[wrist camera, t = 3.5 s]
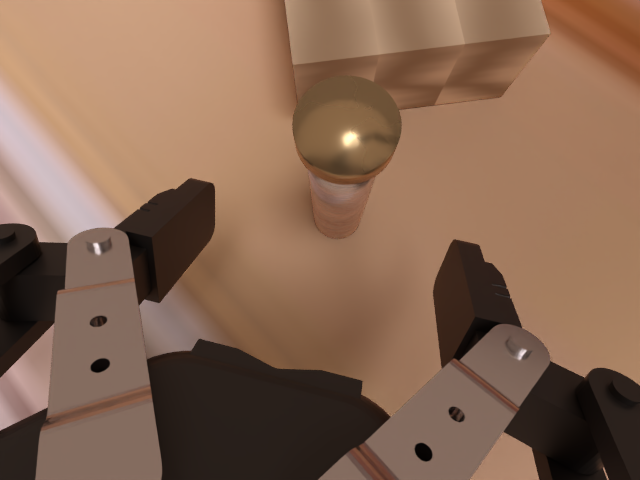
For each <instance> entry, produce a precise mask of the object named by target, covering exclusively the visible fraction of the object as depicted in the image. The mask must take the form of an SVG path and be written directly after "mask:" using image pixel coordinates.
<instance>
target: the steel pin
mask: <svg viewBox="0 0 640 480" xmlns="http://www.w3.org/2000/svg"><path fill="white" fill-rule="evenodd" d="M292 125H293V135H294V140H295V146H296V150H297V153H298V155H299V157H300V159H301V161H302V163H303V164H304V165H305V167H306V168H307V169H308V174H309V182H310V190H311V198H312V206H313V214H314V221H315V224H316V226H317V228H318V230H319V231H320V232H321V233H322V234H324V235H325V236H327V237H330V238H334V239H341V238H345V237H348V236H350V235H351V234H352V233H354V232H355V230H356V229H357V228H358V226H359V223H360V220H361V217H362V214H363V212H364V209H365V206H366V203H367V200H368V197H369V194H370V191H371V188H372V185H373V182H374V180H375V177H376V175H378V174H379V173H380V172H381V171H382V170H383V169H384V168H385V167H386V166H387V165H388V163H389V162H390V160H391V158H392V156H393V154H394V152H395V149H396V147H397V144H398V141H399V138H400V134H401V116H400V112H399V109H398V107H397V105H396V103H395V101H394V100H393V98H392V97H391V96H390V94H389V93H388V92H387V91H386V90H385V89H384V88H382V87H381V86H380V85H378V84H376V83H375V82H373V81H370V80H368V79H365V78H362V77H357V76H348V75H345V76H336V77H331V78H328V79H325V80H323V81H321V82H319V83H317V84H315V85H314V86H313V87H311V88H310V89H309V90H308V91H307V92H306V93H305V94H304V95H303V96H302V98H301V99H300V101H299V102H298V104H297V106H296V109H295V111H294V116H293V123H292Z"/></svg>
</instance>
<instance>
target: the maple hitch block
mask: <svg viewBox="0 0 640 480" xmlns="http://www.w3.org/2000/svg"><path fill="white" fill-rule="evenodd" d="M285 8H286V16H287V24H288V32H289V40H290V48H291V56H292V64H293V71H294V79H295V87H296V94H297V102H299V101H300V99H301V98H302V96H303V95H304V94H305V93H306V92H307V91H308V90H309V89H310V88H311V87H313V86H314V85H315V84H317V83H319V82H321V81H323V80H325V79H328V78H331V77H336V76H345V75H348V76H357V77H362V78H365V79H368V80H370V81H373V82H375V83H376V84H378V85H380V86H381V87H382V88H384V89H385V90H386V91H387V92H388V93H389V94H390V96H391V97H392V98H393V100H394V101H395V103H396V105H397V107H398V109H407V108H415V107H423V106H431V105H439V104H447V103H456V102H464V101H472V100H480V99H488V98H496V97H501V96H502V95H503V94H504V92H505V91H506V90H507V89H508V87H509V86H510V85H511V84H512V82H513V81H514V80H515V78H516V77H517V76H518V75H519V73H520V72H521V71H522V70H523V68H524V67H525V66H526V65H527V63H528V62H529V61H530V59H531V58H532V57H533V56H534V54H535V53H536V52H537V51H538V49H539V48H540V47H541V46H542V44H543V43H544V42H545V40H546V39H547V38H548V37H549V35H550V34H551V32H550V29H549V26H548V22H547V19H546V16H545V12H544V9H543V5H542V2H541V0H285Z"/></svg>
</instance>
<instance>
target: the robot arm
mask: <svg viewBox="0 0 640 480" xmlns="http://www.w3.org/2000/svg"><path fill="white" fill-rule="evenodd" d="M214 228H215V187H214V184H213V183H210V182H205V181H201V180H197V179H192V178H190V179H188V180H187V181H185V182H184V183H183V184H182V185H181V186H179V187H178V188H177V189H176V190H175V189H170V190H167V191H164V192H162V193H159V194H157V195H156V196H154V197H153V198H152V199H151V200H149V201H148V203H146V204H144V205H143V206H142V207H140V210H139V209H138V210H137V211H135V212H134V213H133V214H131V215H130V216H129V217H128V218H126V219H125V220H124V221H122V222H121V223H120V224H119V225H117V226H116V227H115V228H114V229H113V228H95V229H90V230H86V231H83V232H81V233H79V234H77V235H75V236H74V237H73V238H71V240H70V241H69V242H68V243H46V242H39V241H38V238H37V234H36V231H35V230H34V229H33V228H32V227H30V226H28V225H24V224H1V225H0V377H1V376H2V375H3V374H4V373H5V372H6V371H7V370H8V369H9V368H10V367H11V366H12V365H13V364H14V363H15V362H16V361H17V360H18V359H19V358H20V357H21V356H22V355H23V354H24V353H25V352H26V351H27V350H28V349H29V348H30V347H31V346H32V345H33V344H34V343H35V342H36V341H37V340H38V339H39V338H40V337H41V336H42V335H43V334H44V333H45V332H46V331H47V330H48V329H49V328H50V327H51V326H52V325H53V324H54V336H53V349H52V362H51V375H50V388H49V400H48V408H46V409H44V410H42V411H40V412H38V413H36V414H34V415H31V416H29V417H27V418H25V419H23V420H21V421H19V422H17V423H15V424H13V425H11V426H9V427H7V428H5V429H3V430H1V431H0V480H470V478H471V477H472V475H473V474H474V473H475V471H476V470H477V468H478V467H479V465H480V464H481V463H482V461H483V460H484V458H485V457H486V455H487V454H488V453H489V451H490V450H491V448H492V447H493V446H494V444H495V443H496V441H497V440H498V438H499V437H500V436H501V434H502V433H503V432H505V433H507V434H509V435H510V436H512V437H514V438H516V439H517V440H519V441H521V442H523V443H525V444H526V445H528V446H530V447H532V451H533V455H534V459H535V463H536V467H537V472H538V476H539V480H607V478H606V476H605V473H604V471H603V467H604V468H605V470H606V473H607V475H608V478H609V480H640V386H639V385H638V384H637V383H635V382H634V381H633V380H631V379H630V378H628V377H626V376H624V375H623V374H621V373H618V372H616V371H613V370H610V369H606V368H595V369H593V370H591V371H590V372H589V373H588V374H587V376H586V377H585V378H584V377H582V376H580V375H578V374H576V373H573V372H571V371H569V370H567V369H565V368H563V367H561V366H559V365H557V364H555V363H553V362H551V361H550V355H549V352H548V350H547V348H546V347H545V346H544V344H543V343H542V342H541V341H540V340H539V339H538V338H537V337H535V336H534V335H533V334H531V333H530V332H528V331H526V330H524V329H522V326H521V323H520V321H519V318H518V315H517V313H516V310H515V307H514V305H513V302H512V299H510V294H509V291H508V289H506V287H507V286H506V284H505V281H504V278H503V276H502V274H501V273H500V272H499V271H498V270H497V269H496V268H495V266H494V265H493V264H492V263H487V262H485V261H484V258H483V255H482V252H481V249H480V246H479V245H477V244H473V243H469V242H464V241H460V240H456V239H455V240H453V241H452V243H451V245H450V247H449V249H448V251H447V254H446V256H445V258H444V261H443V263H442V265H441V268H440V270H439V272H438V275H437V277H436V280H435V284H434V290H433V297H434V305H435V314H436V323H437V332H438V340H439V349H440V358H441V366H442V369H441V370H440V371H439V372H438V373H437V374H436V375H435V376H434V377H433V378H432V379H431V380H430V381H429V382H428V383H427V384H426V385H425V386H423V387H422V388H421V389H420V390H419V391H418V392H417V393H416V394H415V395H414V396H413V397H412V398H411V399H410V400H409V401H408V402H407V403H405V404H404V405H403V406H402V407H401V408H400V409H399V410H398V411H397V412H396V413H395V414H394V415H393V416H392V417H390V416H389V415H388V414H387V413H386V412H385V411H384V410H383V409H382V408H381V407H379V406H378V405H377V404H376V403H374V402H373V401H371V400H370V399H368V398H366V397H365V396H363V395H361V391H362V381H361V380H357V379H353V378H349V377H345V376H341V375H337V374H334V373H330V372H326V371H322V370H294V369H277V368H274V367H272V366H270V365H268V364H266V363H264V362H262V361H260V360H258V359H256V358H255V357H253V356H251V355H249V354H247V353H245V352H243V351H241V350H239V349H237V348H233V347H229V346H225V345H221V344H217V343H214V342H210V341H206V340H202V339H199V340H198V341H197V343H196V345H195V346H194V348H193V349H192V351H179V352H172V353H166V354H162V355H158V356H155V357H152V358H149V359H147V355H146V348H145V342H144V335H143V329H142V322H141V316H140V309H139V305H140V304H141V303H142V301H143V300H144V299H145V300H149V301H153V302H157V303H160V302H161V300H162V299H163V298H164V297H165V295H166V294H167V293H168V292H169V291H170V289H171V288H172V287H173V286H174V284H175V283H176V282H177V281H178V279H179V278H180V277H181V276H182V274H183V273H184V272H185V271H186V269H187V268H188V267H189V266H190V264H191V263H192V262H193V261H194V260H195V258H196V257H197V256H198V255H199V253H200V252H201V251H202V250H203V248H204V247H205V246H206V245H207V243H208V242H209V241H210V239H211V237H212V235H213V232H214Z"/></svg>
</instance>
